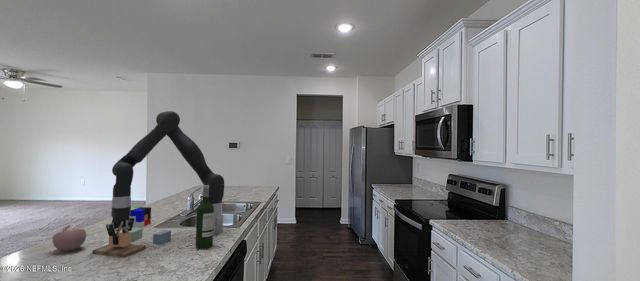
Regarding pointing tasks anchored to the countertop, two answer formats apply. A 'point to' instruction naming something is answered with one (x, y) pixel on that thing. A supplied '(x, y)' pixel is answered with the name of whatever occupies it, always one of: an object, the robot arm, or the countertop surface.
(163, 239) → the slate brick
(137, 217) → the puzzle toy
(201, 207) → the wine bottle
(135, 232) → the sage brick
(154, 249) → the countertop surface
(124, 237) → the terracotta brick
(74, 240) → the mortar and pestle
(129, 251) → the walnut board
